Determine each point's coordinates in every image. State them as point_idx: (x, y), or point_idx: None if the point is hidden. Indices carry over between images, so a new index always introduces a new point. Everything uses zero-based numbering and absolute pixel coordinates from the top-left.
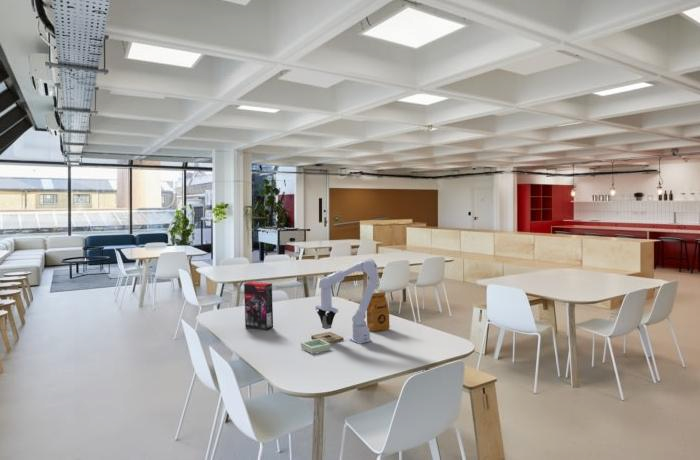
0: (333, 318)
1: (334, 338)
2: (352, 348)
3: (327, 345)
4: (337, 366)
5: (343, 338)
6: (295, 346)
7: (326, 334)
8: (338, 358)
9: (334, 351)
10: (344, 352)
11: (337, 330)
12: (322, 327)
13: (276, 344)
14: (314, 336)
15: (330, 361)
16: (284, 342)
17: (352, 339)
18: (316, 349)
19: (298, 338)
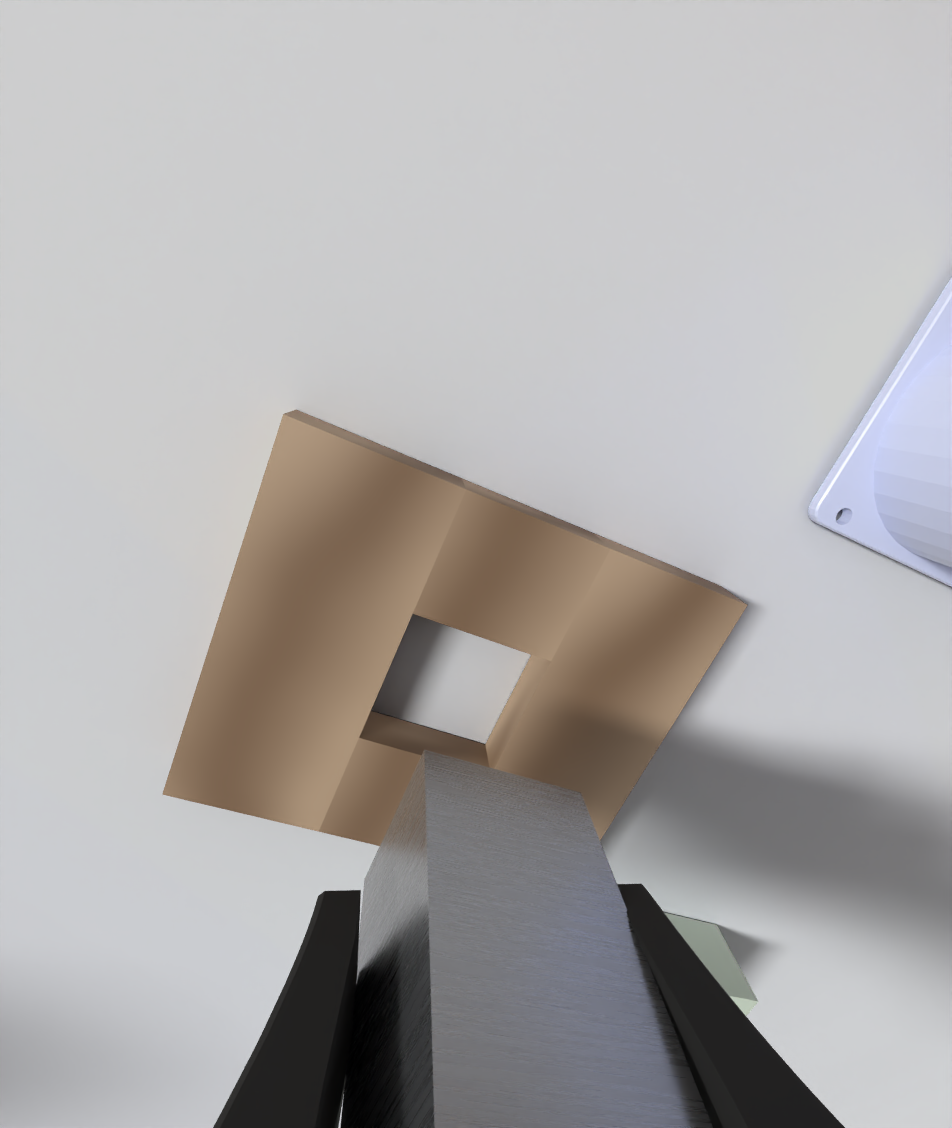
0: (812, 1093)
1: (624, 713)
2: (946, 777)
3: None
4: (929, 1112)
5: (738, 600)
6: None
7: (361, 614)
8: (884, 1023)
9: (778, 936)
10: (892, 905)
11: (240, 9)
12: (370, 887)
13: (12, 1117)
14: (254, 802)
15: (840, 1088)
16: (20, 1041)
17: (877, 528)
18: None
19: (15, 861)
